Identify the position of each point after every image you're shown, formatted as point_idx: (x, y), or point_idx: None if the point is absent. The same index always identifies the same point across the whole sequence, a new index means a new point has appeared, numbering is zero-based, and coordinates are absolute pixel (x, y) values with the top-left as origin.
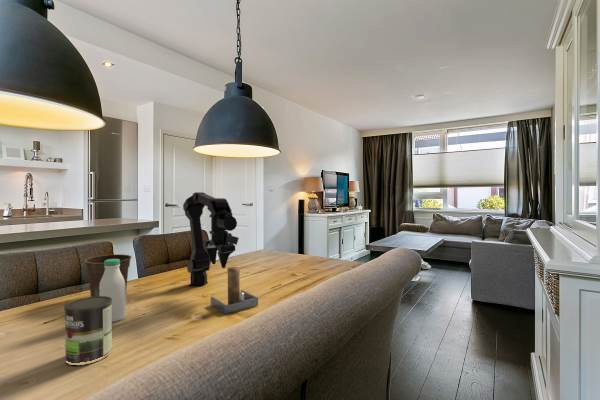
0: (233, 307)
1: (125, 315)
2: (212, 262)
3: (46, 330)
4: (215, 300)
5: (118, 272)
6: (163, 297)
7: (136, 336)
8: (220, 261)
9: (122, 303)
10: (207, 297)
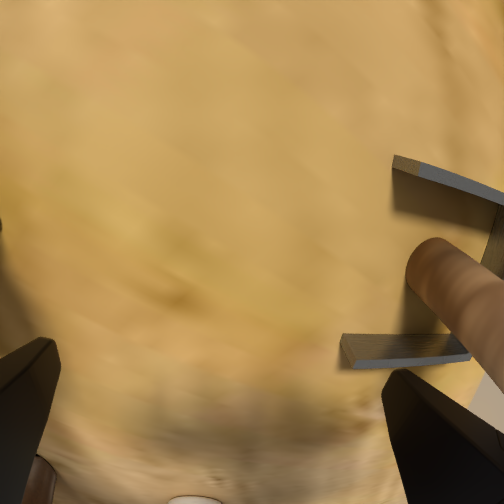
0: None
1: (208, 500)
2: (53, 396)
3: None
4: (402, 366)
5: None
6: (79, 408)
7: (340, 491)
8: (420, 489)
9: None
10: (215, 299)
